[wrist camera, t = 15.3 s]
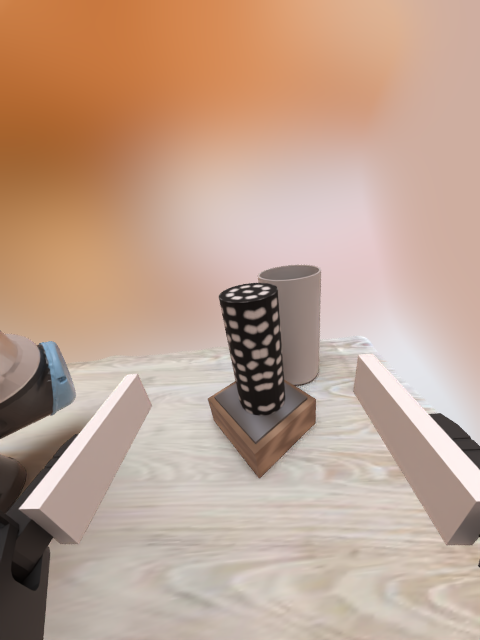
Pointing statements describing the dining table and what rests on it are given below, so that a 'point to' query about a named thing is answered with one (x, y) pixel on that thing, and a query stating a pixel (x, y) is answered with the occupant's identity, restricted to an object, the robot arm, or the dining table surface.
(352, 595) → the dining table surface
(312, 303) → the cylinder vase
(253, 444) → the display pedestal
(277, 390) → the spotted tube
